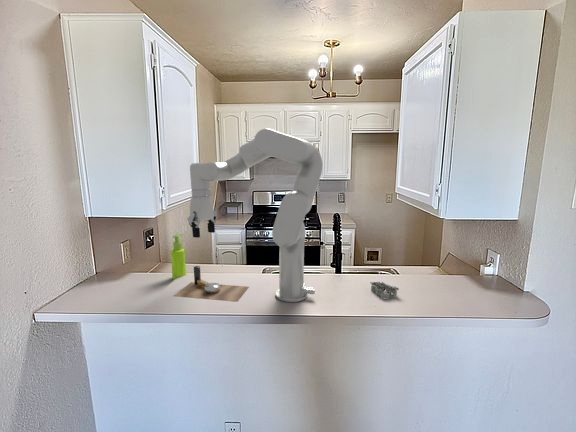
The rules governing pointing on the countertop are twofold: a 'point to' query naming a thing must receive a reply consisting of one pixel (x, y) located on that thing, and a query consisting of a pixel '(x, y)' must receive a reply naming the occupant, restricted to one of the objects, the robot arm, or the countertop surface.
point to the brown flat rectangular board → (224, 294)
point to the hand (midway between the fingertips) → (204, 234)
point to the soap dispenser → (178, 259)
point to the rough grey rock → (380, 287)
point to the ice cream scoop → (209, 287)
